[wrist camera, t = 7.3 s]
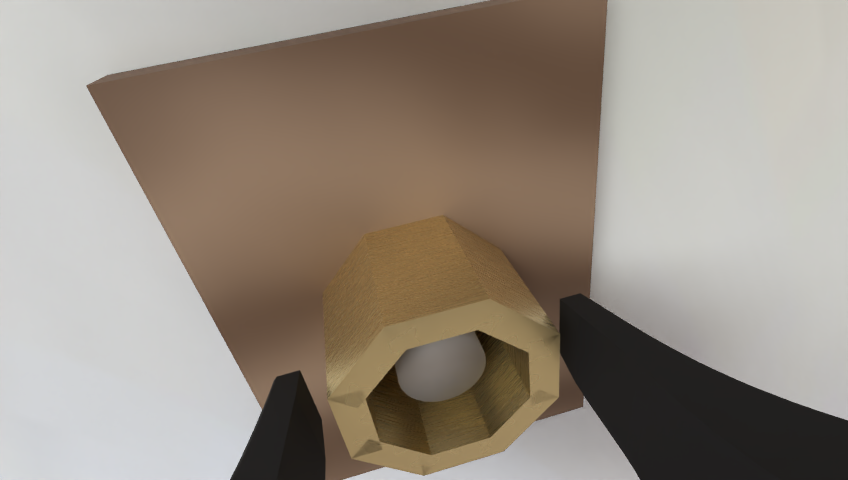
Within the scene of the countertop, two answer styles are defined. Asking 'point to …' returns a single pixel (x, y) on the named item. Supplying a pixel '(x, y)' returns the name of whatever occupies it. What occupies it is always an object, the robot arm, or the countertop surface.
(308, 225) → the hub board
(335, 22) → the countertop surface
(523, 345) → the brass collar
